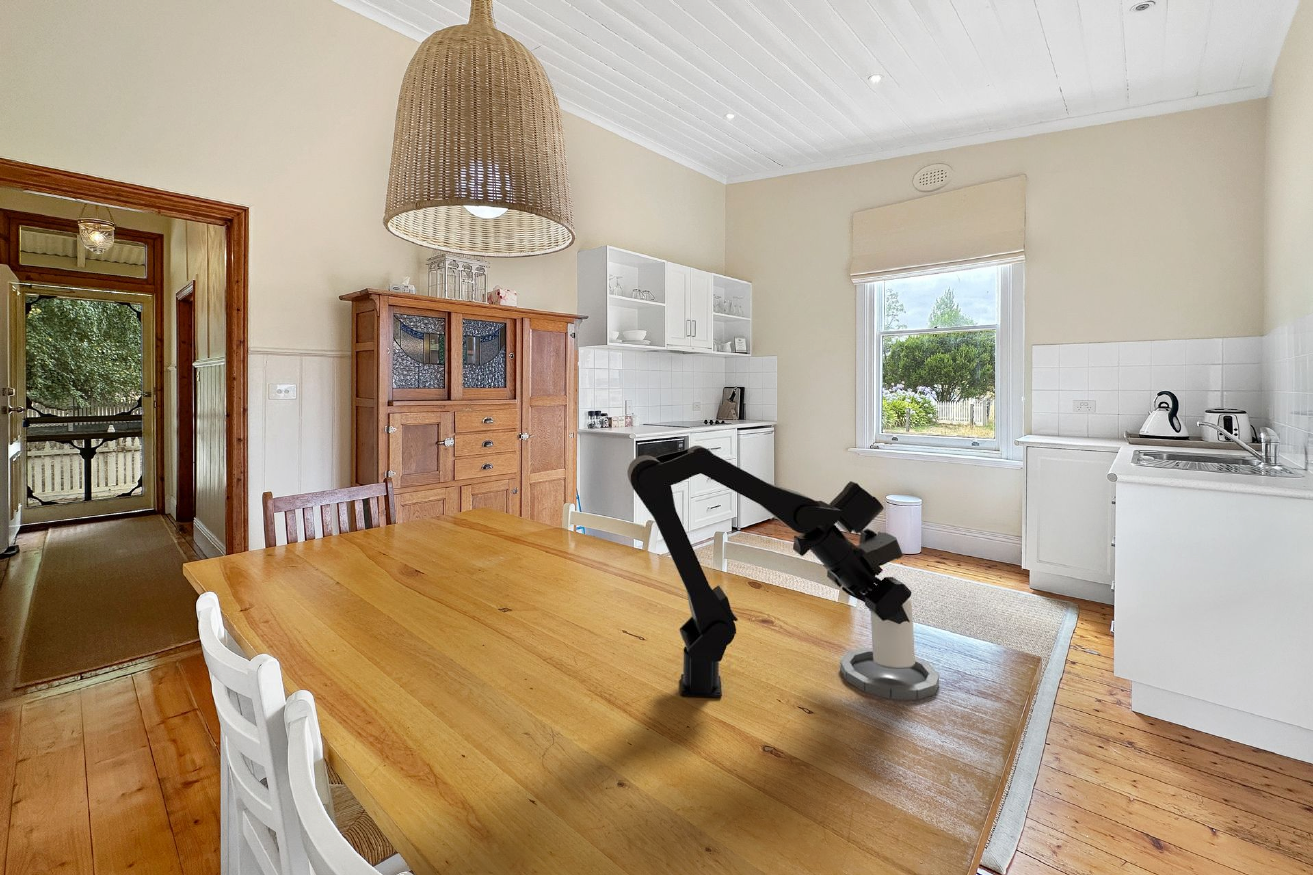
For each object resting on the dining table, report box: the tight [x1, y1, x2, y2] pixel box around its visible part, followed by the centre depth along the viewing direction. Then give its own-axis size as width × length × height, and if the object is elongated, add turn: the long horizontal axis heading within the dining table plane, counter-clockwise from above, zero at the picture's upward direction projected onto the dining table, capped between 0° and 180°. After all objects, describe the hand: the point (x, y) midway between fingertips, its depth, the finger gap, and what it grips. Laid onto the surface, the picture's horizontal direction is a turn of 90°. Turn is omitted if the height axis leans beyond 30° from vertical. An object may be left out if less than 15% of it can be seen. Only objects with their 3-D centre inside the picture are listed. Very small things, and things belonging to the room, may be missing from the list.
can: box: [870, 596, 916, 669], centre depth 99 cm, size 6×6×12 cm
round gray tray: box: [839, 647, 940, 701], centre depth 101 cm, size 15×15×2 cm
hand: (897, 616), depth 100 cm, fingers closed on can, 6 cm apart
